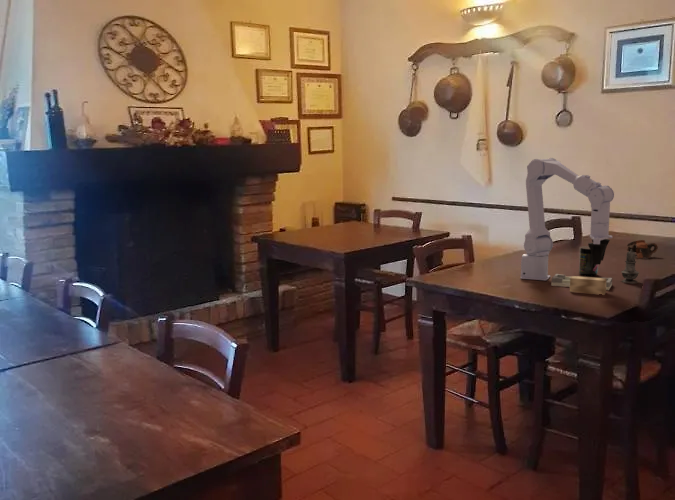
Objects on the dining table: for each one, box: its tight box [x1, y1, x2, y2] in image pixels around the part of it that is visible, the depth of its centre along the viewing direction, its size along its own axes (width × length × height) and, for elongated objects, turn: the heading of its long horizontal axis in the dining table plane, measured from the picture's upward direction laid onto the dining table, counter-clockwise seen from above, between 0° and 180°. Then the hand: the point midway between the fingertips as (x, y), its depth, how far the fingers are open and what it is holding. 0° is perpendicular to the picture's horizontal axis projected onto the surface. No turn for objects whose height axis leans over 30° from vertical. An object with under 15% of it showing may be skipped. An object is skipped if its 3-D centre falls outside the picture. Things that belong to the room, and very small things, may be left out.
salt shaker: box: [620, 249, 640, 284], centre depth 240 cm, size 6×6×12 cm
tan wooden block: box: [569, 275, 607, 296], centre depth 226 cm, size 11×4×5 cm, turn 61°
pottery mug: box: [626, 239, 659, 259], centre depth 287 cm, size 12×10×8 cm
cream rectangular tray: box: [550, 273, 613, 291], centre depth 237 cm, size 19×9×3 cm, turn 62°
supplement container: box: [578, 245, 599, 277], centre depth 253 cm, size 7×7×10 cm
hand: (598, 262), depth 228 cm, fingers open, 7 cm apart
